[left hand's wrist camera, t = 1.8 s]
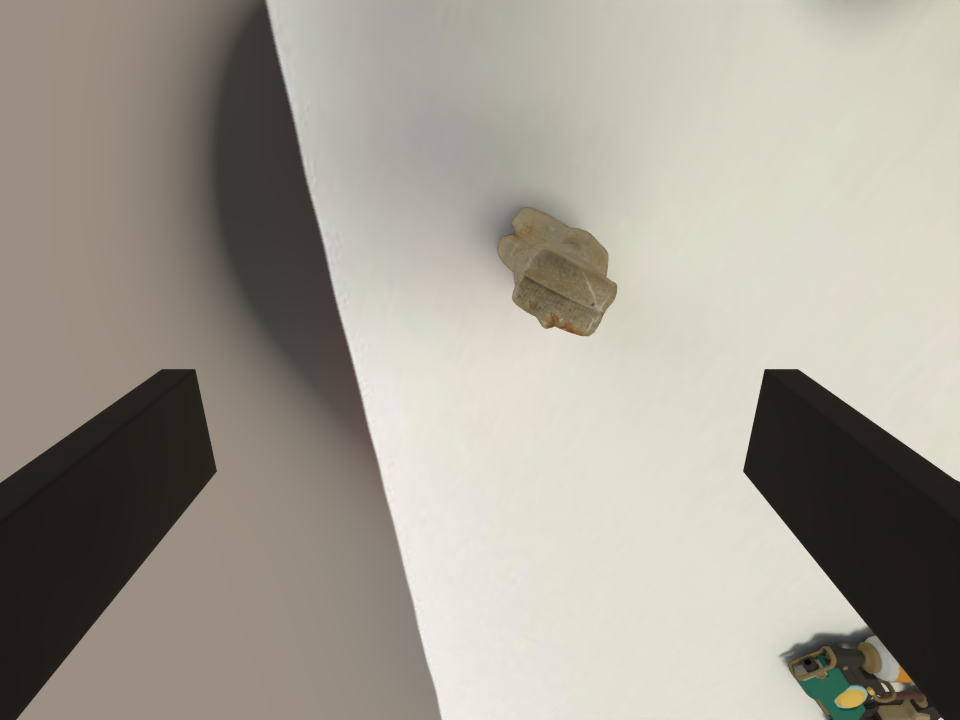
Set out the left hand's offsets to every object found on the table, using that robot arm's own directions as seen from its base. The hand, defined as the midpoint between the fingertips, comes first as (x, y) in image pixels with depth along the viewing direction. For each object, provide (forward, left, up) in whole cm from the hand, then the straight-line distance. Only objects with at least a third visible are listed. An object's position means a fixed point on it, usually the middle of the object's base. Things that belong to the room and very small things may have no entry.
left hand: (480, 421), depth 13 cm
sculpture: (+2, +5, -30) cm, 31 cm away
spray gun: (+53, +33, -30) cm, 70 cm away
